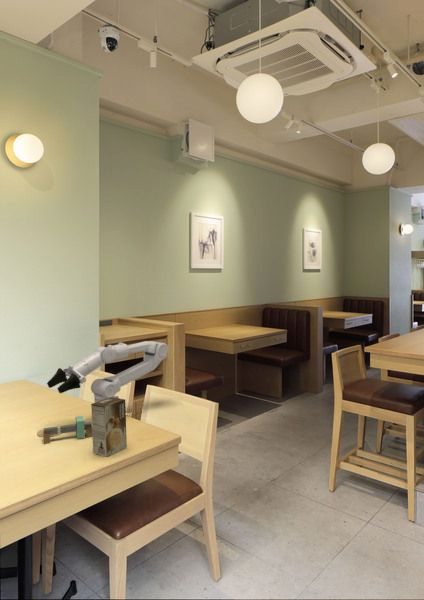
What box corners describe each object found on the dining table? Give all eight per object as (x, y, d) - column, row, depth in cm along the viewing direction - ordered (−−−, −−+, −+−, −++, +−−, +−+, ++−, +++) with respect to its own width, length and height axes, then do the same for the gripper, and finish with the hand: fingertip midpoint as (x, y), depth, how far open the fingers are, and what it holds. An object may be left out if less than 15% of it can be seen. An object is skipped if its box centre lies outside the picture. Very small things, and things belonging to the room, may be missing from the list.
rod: (91, 432, 155) (90, 420, 155) (92, 436, 151) (92, 424, 151) (43, 438, 149) (43, 426, 149) (43, 443, 145) (43, 431, 144)
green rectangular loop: (82, 432, 155) (82, 415, 155) (84, 437, 149) (84, 420, 149) (75, 433, 154) (75, 416, 154) (77, 439, 148) (77, 421, 148)
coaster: (62, 426, 161) (62, 425, 161) (64, 434, 153) (64, 433, 153) (36, 430, 158) (36, 429, 158) (37, 438, 149) (37, 437, 149)
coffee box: (113, 443, 144) (112, 396, 144) (127, 447, 141) (126, 399, 140) (92, 453, 137) (90, 403, 136) (106, 457, 133) (105, 406, 132)
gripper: (71, 354, 165) (39, 374, 157) (91, 362, 156) (59, 384, 147) (77, 369, 168) (47, 389, 160) (98, 378, 158) (66, 400, 150)
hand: (53, 388), depth 154 cm, fingers open, 7 cm apart
